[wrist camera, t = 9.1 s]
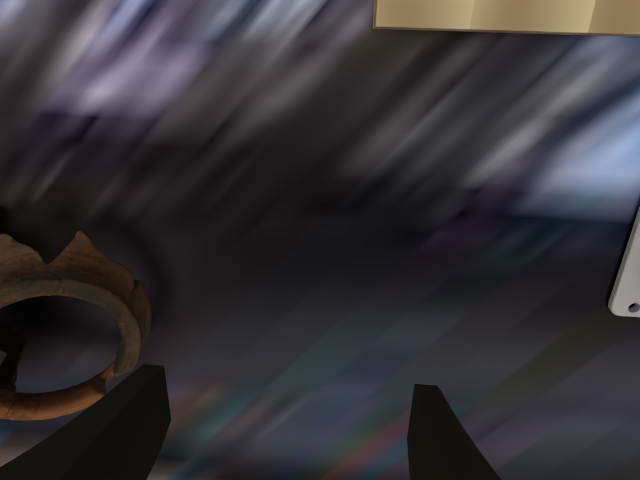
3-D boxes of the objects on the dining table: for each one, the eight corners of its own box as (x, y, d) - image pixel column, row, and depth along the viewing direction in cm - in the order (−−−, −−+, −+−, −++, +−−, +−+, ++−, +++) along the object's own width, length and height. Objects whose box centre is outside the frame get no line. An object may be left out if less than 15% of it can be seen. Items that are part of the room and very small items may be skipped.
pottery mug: (6, 145, 22) (-18, 219, 15) (173, 235, 28) (207, 316, 21) (-129, 334, 23) (-202, 476, 17) (59, 382, 29) (58, 500, 23)
